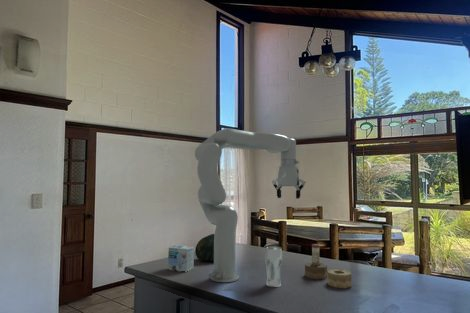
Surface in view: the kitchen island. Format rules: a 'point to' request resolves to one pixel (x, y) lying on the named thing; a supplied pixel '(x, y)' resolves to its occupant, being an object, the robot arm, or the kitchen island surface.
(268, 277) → the beer glass
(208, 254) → the squash
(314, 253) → the cream and red cylinder
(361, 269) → the kitchen island surface
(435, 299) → the kitchen island surface
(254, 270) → the kitchen island surface
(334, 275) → the oak bead
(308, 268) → the walnut bead
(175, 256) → the light bulb box
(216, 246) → the robot arm
